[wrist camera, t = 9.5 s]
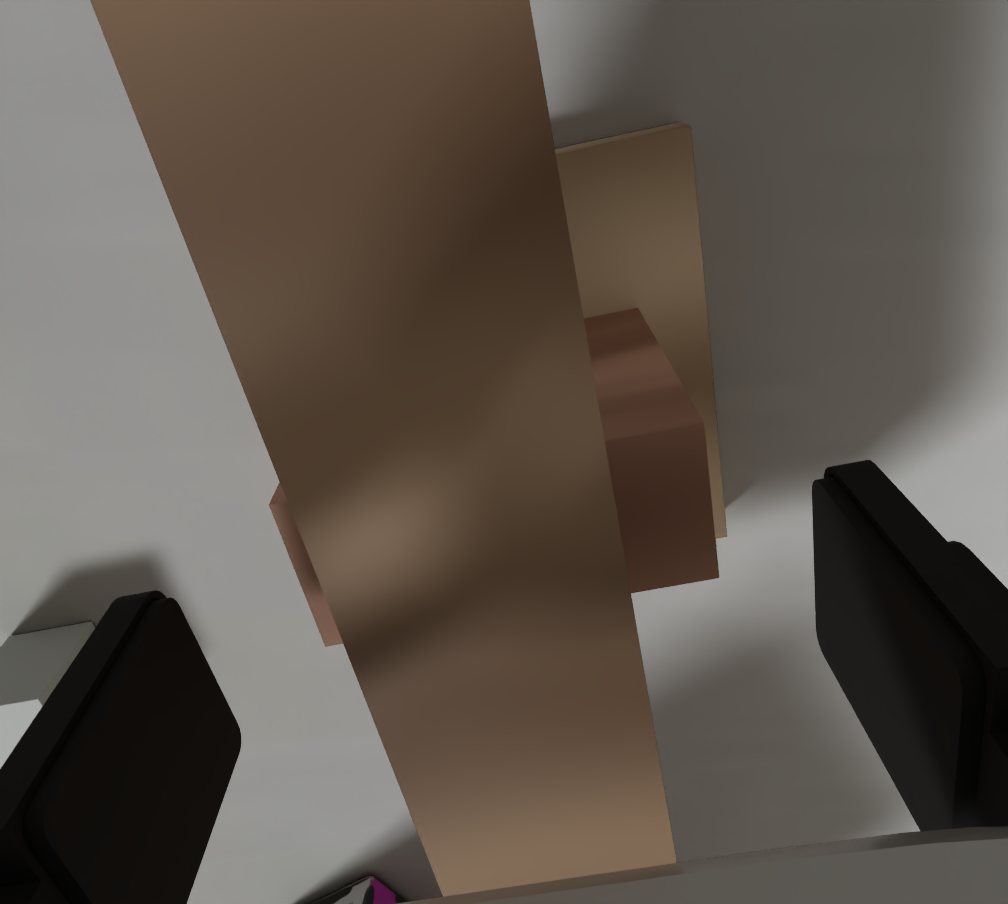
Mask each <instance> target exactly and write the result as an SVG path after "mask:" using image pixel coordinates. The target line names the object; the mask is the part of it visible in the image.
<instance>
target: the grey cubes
mask: <svg viewBox="0 0 1008 904" xmlns="http://www.w3.org/2000/svg"><path fill="white" fill-rule="evenodd" d="M94 629H95V627H94V625H93V623H92V622H86V623H80V624H75V625H69V626H64V627H58V628H53V629H47V630H42V631H36V632H31V633H25V634H20V635H14V636H9V637H8V639H7V640H6V641H5V642H4V644H3V645H2V646H1V647H0V769H1V767H2V766H3V764H4V763H5V761H6V760H7V758H8V757H9V755H10V754H11V752H12V751H13V749H14V748H15V746H16V745H17V743H18V742H19V740H20V739H21V737H22V736H23V734H24V733H25V732H26V730H27V729H28V727H29V726H30V724H31V723H32V721H33V720H34V718H35V717H36V715H37V714H38V712H39V711H40V709H41V708H42V706H43V705H44V703H45V702H46V700H47V699H48V697H49V696H50V694H51V693H52V691H53V690H54V689H55V687H56V686H57V684H58V683H59V681H60V680H61V678H62V677H63V675H64V674H65V672H66V671H67V669H68V668H69V666H70V665H71V663H72V662H73V660H74V659H75V657H76V656H77V654H78V653H79V651H80V650H81V648H82V647H83V645H84V644H85V643H86V641H87V640H88V638H89V637H90V635H91V634H92V632H93V631H94Z"/></svg>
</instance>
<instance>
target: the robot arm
mask: <svg viewBox="0 0 1008 904" xmlns="http://www.w3.org/2000/svg"><path fill="white" fill-rule="evenodd" d="M812 506H813V541H814V576H815V610H816V632H817V638H818V642H819V645H820V648H821V651H822V653H823V655H824V657H825V659H826V661H827V662H828V664H829V666H830V668H831V670H832V671H833V673H834V675H835V677H836V679H837V680H838V682H839V684H840V686H841V688H842V690H843V691H844V693H845V695H846V697H847V699H848V700H849V702H850V704H851V706H852V708H853V709H854V711H855V713H856V715H857V717H858V719H859V720H860V722H861V724H862V726H863V728H864V729H865V731H866V733H867V735H868V737H869V738H870V740H871V742H872V744H873V746H874V747H875V749H876V751H877V753H878V755H879V757H880V758H881V760H882V762H883V764H884V766H885V767H886V769H887V771H888V773H889V775H890V776H891V778H892V780H893V782H894V784H895V785H896V787H897V789H898V791H899V793H900V795H901V796H902V798H903V800H904V802H905V804H906V805H907V807H908V809H909V811H910V813H911V814H912V816H913V818H914V820H915V822H916V824H917V825H918V827H919V829H920V832H908V833H899V834H891V835H883V836H875V837H867V838H859V839H851V840H843V841H835V842H827V843H819V844H811V845H803V846H795V847H787V848H779V849H771V850H764V851H757V852H750V853H743V854H736V855H729V856H721V857H714V858H707V859H700V860H693V861H686V862H679V863H672V864H665V865H658V866H651V867H644V868H637V869H630V870H623V871H616V872H609V873H602V874H595V875H588V876H581V877H574V878H567V879H560V880H553V881H546V882H540V883H533V884H526V885H519V886H512V887H506V888H499V889H492V890H485V891H479V892H472V893H465V894H458V895H451V896H445V897H438V898H431V899H424V900H418V901H411V902H404V903H398V904H1008V589H1007V588H1006V587H1005V586H1004V585H1003V584H1002V583H1001V582H1000V581H999V580H998V579H997V578H996V577H995V575H994V574H993V573H992V572H991V571H990V570H989V569H988V568H987V567H986V566H985V565H984V564H983V563H982V562H981V561H980V560H979V559H978V558H977V557H976V556H975V555H974V554H973V553H972V551H971V550H970V549H968V548H967V547H966V546H965V545H963V544H962V543H960V542H956V541H951V542H947V541H946V540H945V539H944V538H943V537H942V535H941V534H940V533H939V532H938V531H937V530H936V529H935V528H934V527H933V526H932V525H931V524H930V523H929V521H928V520H927V519H926V518H925V517H924V516H923V515H922V514H921V513H920V512H919V511H918V510H917V509H916V507H915V506H914V505H913V504H912V503H911V502H910V501H909V500H908V499H907V498H906V497H905V496H904V495H903V493H902V492H901V491H900V490H899V489H898V488H897V487H896V486H895V485H894V484H893V483H892V482H891V481H890V479H889V478H888V477H887V476H886V475H885V474H884V473H883V472H882V471H881V470H880V469H879V468H878V467H877V465H876V464H875V463H873V462H872V461H871V460H865V461H859V462H854V463H848V464H843V465H837V466H832V467H828V468H827V469H826V470H825V473H824V479H818V480H815V481H814V482H813V485H812ZM240 748H241V733H240V728H239V726H238V723H237V721H236V719H235V717H234V715H233V713H232V711H231V709H230V707H229V705H228V703H227V701H226V699H225V697H224V695H223V693H222V691H221V689H220V687H219V685H218V683H217V681H216V679H215V677H214V675H213V673H212V670H211V668H210V666H209V664H208V662H207V660H206V658H205V656H204V654H203V652H202V650H201V648H200V646H199V644H198V642H197V640H196V638H195V636H194V634H193V632H192V630H191V628H190V626H189V624H188V622H187V620H186V618H185V616H184V614H183V612H182V610H181V608H180V606H179V604H178V603H177V601H176V600H175V599H173V598H166V596H165V595H164V594H163V593H161V592H160V591H150V592H145V593H139V594H134V595H128V596H123V597H119V598H117V599H116V600H115V601H114V602H113V603H112V604H111V605H110V607H109V608H108V610H107V611H106V613H105V614H104V616H103V617H102V619H101V620H100V622H99V623H98V625H97V626H96V628H95V629H94V631H93V632H92V634H91V635H90V637H89V638H88V640H87V641H86V643H85V644H84V645H83V647H82V648H81V650H80V651H79V653H78V654H77V656H76V657H75V659H74V660H73V662H72V663H71V665H70V666H69V668H68V669H67V671H66V672H65V674H64V675H63V677H62V678H61V680H60V681H59V683H58V684H57V686H56V687H55V689H54V690H53V691H52V693H51V694H50V696H49V697H48V699H47V700H46V702H45V703H44V705H43V706H42V708H41V709H40V711H39V712H38V714H37V715H36V717H35V718H34V720H33V721H32V723H31V724H30V726H29V727H28V729H27V730H26V732H25V733H24V734H23V736H22V737H21V739H20V740H19V742H18V743H17V745H16V746H15V748H14V749H13V751H12V752H11V754H10V755H9V757H8V758H7V760H6V761H5V763H4V764H3V766H2V767H1V769H0V904H187V901H188V898H189V895H190V892H191V889H192V886H193V884H194V881H195V878H196V875H197V872H198V869H199V867H200V864H201V861H202V858H203V855H204V852H205V849H206V847H207V844H208V841H209V838H210V835H211V832H212V829H213V827H214V824H215V821H216V818H217V815H218V812H219V810H220V807H221V804H222V801H223V798H224V795H225V792H226V790H227V787H228V784H229V781H230V778H231V775H232V772H233V770H234V767H235V764H236V761H237V758H238V755H239V752H240Z"/></svg>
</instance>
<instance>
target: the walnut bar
mask: <svg viewBox="0 0 1008 904" xmlns="http://www.w3.org/2000/svg"><path fill="white" fill-rule="evenodd" d="M90 1H91V3H92V6H93V9H94V11H95V14H96V16H97V19H98V21H99V24H100V26H101V29H102V31H103V34H104V36H105V39H106V42H107V44H108V47H109V49H110V52H111V54H112V57H113V59H114V62H115V64H116V67H117V69H118V72H119V75H120V77H121V80H122V82H123V85H124V87H125V90H126V92H127V95H128V97H129V100H130V103H131V105H132V108H133V110H134V113H135V115H136V118H137V120H138V123H139V125H140V128H141V130H142V133H143V136H144V138H145V141H146V143H147V146H148V148H149V151H150V153H151V156H152V158H153V161H154V164H155V166H156V169H157V171H158V174H159V176H160V179H161V181H162V184H163V186H164V189H165V191H166V194H167V197H168V199H169V202H170V204H171V207H172V209H173V212H174V214H175V217H176V219H177V222H178V224H179V227H180V230H181V232H182V235H183V237H184V240H185V242H186V245H187V247H188V250H189V252H190V255H191V258H192V260H193V263H194V265H195V268H196V270H197V273H198V275H199V278H200V280H201V283H202V285H203V288H204V291H205V293H206V296H207V298H208V301H209V303H210V306H211V308H212V311H213V313H214V316H215V319H216V321H217V324H218V326H219V329H220V331H221V334H222V336H223V339H224V341H225V344H226V346H227V349H228V352H229V354H230V357H231V359H232V362H233V364H234V367H235V369H236V372H237V374H238V377H239V379H240V382H241V385H242V387H243V390H244V392H245V395H246V397H247V400H248V402H249V405H250V407H251V410H252V413H253V415H254V418H255V420H256V423H257V425H258V428H259V430H260V433H261V435H262V438H263V440H264V443H265V446H266V448H267V451H268V453H269V456H270V458H271V461H272V463H273V466H274V468H275V471H276V474H277V476H278V479H279V481H280V484H281V486H282V489H283V491H284V494H285V496H286V499H287V501H288V504H289V507H290V509H291V512H292V514H293V517H294V519H295V522H296V524H297V527H298V529H299V532H300V534H301V537H302V540H303V542H304V545H305V547H306V550H307V552H308V555H309V557H310V560H311V562H312V565H313V568H314V570H315V573H316V575H317V578H318V580H319V583H320V585H321V588H322V590H323V593H324V595H325V598H326V601H327V603H328V606H329V608H330V611H331V613H332V616H333V618H334V621H335V623H336V626H337V629H338V631H339V634H340V636H341V639H342V641H343V644H344V646H345V649H346V651H347V654H348V656H349V659H350V662H351V664H352V667H353V669H354V672H355V674H356V677H357V679H358V682H359V684H360V687H361V690H362V692H363V695H364V697H365V700H366V702H367V705H368V707H369V710H370V712H371V715H372V717H373V720H374V723H375V725H376V728H377V730H378V733H379V735H380V738H381V740H382V743H383V745H384V748H385V750H386V753H387V756H388V758H389V761H390V763H391V766H392V768H393V771H394V773H395V776H396V778H397V781H398V784H399V786H400V789H401V791H402V794H403V796H404V799H405V801H406V804H407V806H408V809H409V811H410V814H411V817H412V819H413V822H414V824H415V827H416V829H417V832H418V834H419V837H420V839H421V842H422V845H423V847H424V850H425V852H426V855H427V857H428V860H429V862H430V865H431V867H432V870H433V872H434V875H435V878H436V880H437V883H438V885H439V888H440V890H441V893H442V895H443V897H445V896H451V895H458V894H465V893H472V892H479V891H485V890H492V889H499V888H506V887H512V886H519V885H526V884H533V883H540V882H546V881H553V880H560V879H567V878H574V877H581V876H588V875H595V874H602V873H609V872H616V871H623V870H630V869H637V868H644V867H651V866H658V865H665V864H672V863H677V861H676V855H675V849H674V843H673V837H672V831H671V826H670V820H669V814H668V808H667V802H666V796H665V791H664V785H663V779H662V773H661V767H660V761H659V755H658V750H657V744H656V738H655V732H654V726H653V720H652V715H651V709H650V703H649V697H648V691H647V685H646V679H645V674H644V668H643V662H642V656H641V650H640V644H639V639H638V633H637V627H636V621H635V615H634V609H633V604H632V598H631V592H630V586H629V580H628V574H627V568H626V563H625V557H624V551H623V545H622V539H621V533H620V528H619V522H618V516H617V510H616V504H615V498H614V493H613V487H612V481H611V475H610V469H609V463H608V457H607V452H606V446H605V440H604V434H603V428H602V422H601V417H600V411H599V405H598V399H597V393H596V387H595V381H594V376H593V370H592V364H591V358H590V352H589V346H588V341H587V335H586V329H585V323H584V317H583V311H582V306H581V300H580V294H579V288H578V282H577V276H576V270H575V265H574V259H573V253H572V247H571V241H570V235H569V230H568V224H567V218H566V212H565V206H564V200H563V194H562V189H561V183H560V177H559V171H558V165H557V159H556V154H555V148H554V142H553V136H552V130H551V124H550V119H549V113H548V107H547V101H546V95H545V89H544V83H543V78H542V72H541V66H540V60H539V54H538V48H537V43H536V37H535V31H534V25H533V19H532V13H531V7H530V2H529V0H90Z"/></svg>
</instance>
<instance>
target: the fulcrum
mask: <svg viewBox="0 0 1008 904" xmlns="http://www.w3.org/2000/svg"><path fill="white" fill-rule="evenodd" d="M555 154H556V159H557V165H558V171H559V177H560V183H561V189H562V194H563V200H564V206H565V212H566V218H567V224H568V230H569V235H570V241H571V247H572V253H573V259H574V265H575V270H576V276H577V282H578V288H579V294H580V300H581V306H582V311H583V317H584V323H585V329H586V335H587V341H588V346H589V352H590V358H591V364H592V370H593V376H594V381H595V387H596V393H597V399H598V405H599V411H600V417H601V422H602V428H603V434H604V440H605V446H606V452H607V457H608V463H609V469H610V475H611V481H612V487H613V493H614V498H615V504H616V510H617V516H618V522H619V528H620V533H621V539H622V545H623V551H624V557H625V563H626V568H627V574H628V580H629V586H630V592H631V593H635V592H641V591H646V590H652V589H658V588H664V587H669V586H675V585H681V584H686V583H692V582H698V581H704V580H709V579H715V578H719V570H718V560H717V550H716V538H722V537H727V530H726V518H725V507H724V496H723V484H722V473H721V462H720V451H719V439H718V428H717V417H716V406H715V394H714V383H713V372H712V360H711V349H710V338H709V327H708V315H707V304H706V293H705V282H704V270H703V259H702V248H701V236H700V225H699V214H698V203H697V191H696V180H695V169H694V158H693V146H692V135H691V126H689V125H687V124H684V123H682V122H677V123H672V124H668V125H663V126H659V127H654V128H649V129H645V130H640V131H636V132H631V133H627V134H622V135H617V136H613V137H608V138H604V139H599V140H595V141H590V142H585V143H581V144H576V145H572V146H567V147H563V148H558V149H555ZM269 506H270V509H271V511H272V514H273V516H274V519H275V521H276V524H277V526H278V529H279V531H280V534H281V536H282V539H283V541H284V544H285V546H286V549H287V551H288V554H289V557H290V559H291V562H292V564H293V567H294V569H295V572H296V574H297V577H298V579H299V582H300V584H301V587H302V589H303V592H304V594H305V597H306V599H307V602H308V604H309V607H310V609H311V612H312V614H313V617H314V619H315V622H316V624H317V627H318V629H319V632H320V634H321V637H322V639H323V642H324V644H325V647H326V646H331V645H337V644H343V641H342V639H341V636H340V634H339V631H338V629H337V626H336V623H335V621H334V618H333V616H332V613H331V611H330V608H329V606H328V603H327V601H326V598H325V595H324V593H323V590H322V588H321V585H320V583H319V580H318V578H317V575H316V573H315V570H314V568H313V565H312V562H311V560H310V557H309V555H308V552H307V550H306V547H305V545H304V542H303V540H302V537H301V534H300V532H299V529H298V527H297V524H296V522H295V519H294V517H293V514H292V512H291V509H290V507H289V504H288V501H287V499H286V496H285V494H284V491H283V489H282V486H281V484H280V483H279V485H278V487H277V489H276V491H275V493H274V495H273V497H272V499H271V502H270V504H269Z"/></svg>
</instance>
